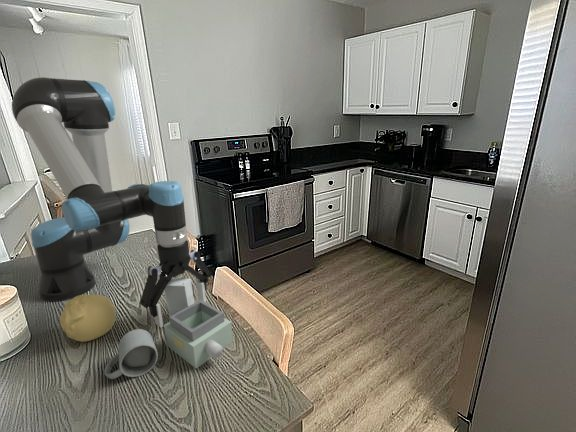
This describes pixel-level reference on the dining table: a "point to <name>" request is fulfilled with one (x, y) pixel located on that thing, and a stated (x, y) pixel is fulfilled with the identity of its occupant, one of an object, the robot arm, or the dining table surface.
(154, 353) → the ceramic mug
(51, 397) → the dining table surface
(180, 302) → the skincare box
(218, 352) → the green open box
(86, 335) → the sculpture
